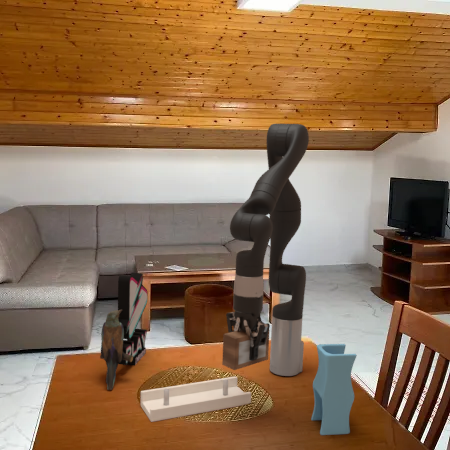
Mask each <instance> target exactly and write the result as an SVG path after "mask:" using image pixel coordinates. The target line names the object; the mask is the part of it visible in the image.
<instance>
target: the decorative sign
mask: <svg viewBox="0 0 450 450" xmlns="http://www.w3.org/2000/svg"><path fill="white" fill-rule="evenodd" d="M143 275H144V274H143V273H140V272H131V274H130V275H126V274H125V275H123V274H120V275H119V277H118V279H117V281H118V282H117V310H118V311H119V310H121V309H122V312H121V313H120V314H119V317H118V321H119V322H120V323H122V325H123V328H124V339H123V352H124V353H125V354H128V355H132V356H133V360H132V362H129V361H126V360H123V359H122V361H121V362H120V363H119V364H118V365H120V366H121V365H123V366H136V365H137V364H138V362H139V361H141V359H142V358H143V357H144V356H146V355H145V354H146V351H147V350H146V349H147V348H146V340H147V333H148V330H147V329H144V328H137V327H138V324H139V322H140V320H141V317H142V316H143V313H144V311H145V309H146V306H147V305H148V301H149V300H148V296H149V295H148V289H147V288H146V287H145V286H144V285H143V282H144V281H143V280H144V277H143Z"/></svg>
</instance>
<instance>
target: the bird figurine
mask: <svg viewBox="0 0 450 450" xmlns="http://www.w3.org/2000/svg"><path fill="white" fill-rule="evenodd" d="M121 312H122V309H121V310H119V311H118V309H117V310H115V309H114V310H112V311H110V312H108V313H107V315H106V319H105V321H104V323H103V324H102V328H101V335H100V337H101V340H100V341H101V345H100V355H99V358H100V359H103V360H104V361H105V364H106V368H107V369H106V377H105V383H106V385H107V387H106V388H107V391H112V390H113V388H114V387H115V386H114V385H115V381H116V375H117V374H116V372H117V370H118V366H119V365H120V364H119V363H120V362H121V361H122V359H123V360H126V361H129V362H132V360H133V356H132V355H128V354H125V353H124V352H123V340H125V339H124V328H123V325H122V323H120V322H119V321H118V317H119V314H120V313H121Z"/></svg>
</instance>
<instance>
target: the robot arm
mask: <svg viewBox="0 0 450 450" xmlns="http://www.w3.org/2000/svg"><path fill="white" fill-rule="evenodd" d="M309 138H310V136H309V131H308V129H307V127H306V126H305V125H303V124H300V123H272V124H271V125H270V126H269V127H268V129H267V133H266V154H267V155H266V156H267V168H268V169H267V170H266V171H265V172H264V173H262V174H261V176H260V177H259V178H258V179H257V180H256V182H255V184H254V186H253V189H252V191H251V193H250V196H249V198H247V200H246V201H245V202H244V203H243V204H242V205H241V206H240V207H239V209H237V210H236V212H235V213H234V215H233V216H232V218H231V221H230V223H229V232H230V234H231V237H232V238H234V239H235V240H237V241H240V242H251V243H253V245H252V247H251V249H244V250H240V251H238V252H237V253H236V257H235V274H234V281H233V298H232V299H233V301H232V303H233V304H232V307H233V310H234V311H231V312H227V313H226V314H225V317H226V323H227V330H228V331H227V333H230V332H234V331H241V330H242V331H245V332H246V333H247V335H248V337H249V340H250V355H249V360H251V361H254V360H256V359H257V358H258V349H259V346H261V345H265V343H266V339H267V335H268V331H269V332H270V326H271V335H270V352H269V353H270V355H269V358H270V359H269V371H270V372H271V373H273V374H275V375H277V376H283V377H284V376H285V377H292V376H296V375H298V374H300V373H302V372H303V366H304V364H303V362H304V348H305V347H304V346H305V344H304V341H303V340H302V330H303V313H304V303H305V292H306V291H305V290H306V283H307V272H306V269H305V267H304V266H303V265H297V264H289V263H283V257H284V252H285V250H286V248H287V247H288V245H289V244H290V242H291V240H292V239H293V237H294V236H295V235H296V233H297V232H298V230H299V228H300V227H301V224H302V201H301V198H300V196H299V194H298V192H297V190H296V189H295V187H294V185H293V184H292V182H291V181H290V177H291V176H292V175H293V173H294V172H295V170H296V169H297V167H298V165H299V163H300V162H301V160H302V159H303V158H304V156H305V154H306V152H307V149H308V145H309V141H310V139H309ZM269 243H270V247H269V251H270V252H269V264H268V267H269V268H268V286H269V287H268V288H269V291H270V292H271V293H273V294H277V295H278V294H279V295H286V296H291V299H290V300H289V301H285V302H282V303H278V304H275V305H273V307H272V309H271V310H272V313H271V314H272V315H271V325H270V323H265V322H264V321H262V318H261V317H262V316H261V313H262V311H263V309H264V306H263V305H264V289H265V288H264V287H265V286H264V285H265V283H264V268H265V267H264V266H265V265H264V264H265V263H264V262H265V257H266V253H267V249H268V246H269ZM254 331H255V333H253V334H252V333H251V332H254ZM254 337H255V341H254Z"/></svg>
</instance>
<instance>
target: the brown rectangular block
mask: <svg viewBox="0 0 450 450" xmlns="http://www.w3.org/2000/svg"><path fill="white" fill-rule="evenodd" d="M251 333H252V334H253V333H255V331H254V332H251ZM222 337H223V338H222V362H221V364H222V366H225V367H227V368H229V369H231V370H233V371H236V370H239V369H242V368H245V367H249V366H251V365H256V364H258V363H262V362H264V361H267V360H269V349H270V330H269V331H268V335H267V339H266V343H265V345H261V346H259V349H258V358H257V359H256V360H254V361H251V360H249V355H250V340H249V337H248V335H247V333H246V332H245V331H242V330H241V331H234V332H230V333H229V332H227V333H223V335H222ZM254 341H255V337H254Z"/></svg>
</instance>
